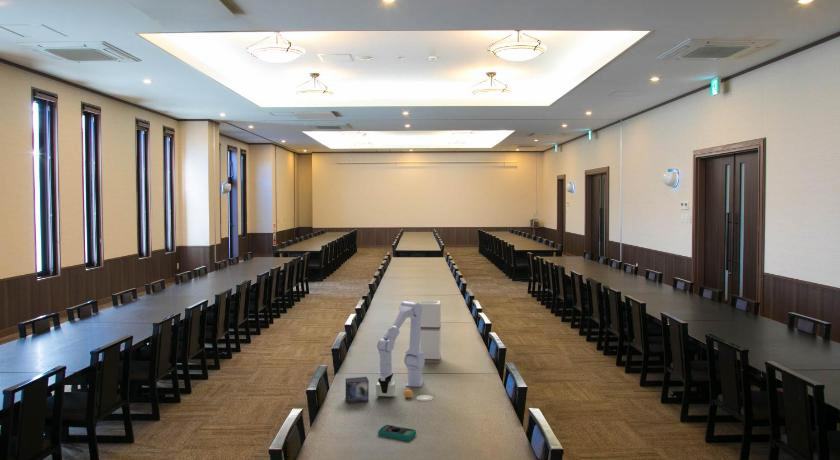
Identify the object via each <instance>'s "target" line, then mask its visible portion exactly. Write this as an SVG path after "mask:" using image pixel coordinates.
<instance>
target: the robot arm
mask: <svg viewBox="0 0 840 460" xmlns="http://www.w3.org/2000/svg"><path fill="white" fill-rule="evenodd" d="M420 304H421V303H420V302H412V301H408V300H407V301H406V300H403V301H402V302H401V304H400V306H399V313H398V314H397V316H396V319H395V320H394V323H393V324H392V325H390V326H389V327H388V329H387V330H386V331H385V334H384V336H383V337H382V338H381V339H380V340H378V342H377V345H376V348H377V350H378V355H379V371H378V372H377V375H380V377H379V378H378V379H377V380H378V381H377V382H379V383H380V385H381V389H382V393H387V389H388V384H389V381H392V379H393V376H394V373H393V372H392V368H393V367H392V365H393V364H392V363H393V362H392V351H393V350H394V349H395V343H396V339H397V338H398V336H399V335H400V328H401V327H402V326H403V324H404V323H405V321H406V319H408V318H410V331H409V349H408V350H406V351H405V356H404V358H403V363H404V365H405V366H406V369H407V382H406V384H405V386H406V387H415V388H416V387H417V388H418V387H420V388H421V387H422V385H423V382H424V380H423V379H422V369H423V367H424V366H425V363H426V362H425V359H424V353H423V352H422V351H421V350H420V332H421V317H422V306H421V305H420Z"/></svg>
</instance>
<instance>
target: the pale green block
mask: <svg viewBox="0 0 840 460" xmlns="http://www.w3.org/2000/svg"><path fill="white" fill-rule="evenodd" d="M395 394H396V381H392V380H391V381H389V384H388V389H387V393H382V389H381V385H380V383H379V382H378V381H377V383H376V384H375V396H376V397H394V396H395Z"/></svg>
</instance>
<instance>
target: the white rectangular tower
mask: <svg viewBox="0 0 840 460" xmlns="http://www.w3.org/2000/svg"><path fill="white" fill-rule="evenodd" d="M419 304H420V305H421V306H422V317H421V332H420V350H421V351H422V352H423V353H424V359H425V363H436V364H437V363H440V362H441V358H442V357H441V356H442V355H441V347H442V346H441V343H442V342H441V337H442V336H441V333H442V332H441V327H442V326H441V325H442V322H441V321H442V320H441V319H442V318H441V317H442V313H441V310H442V309H441V307H442V304H441V300H421V303H419Z"/></svg>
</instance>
